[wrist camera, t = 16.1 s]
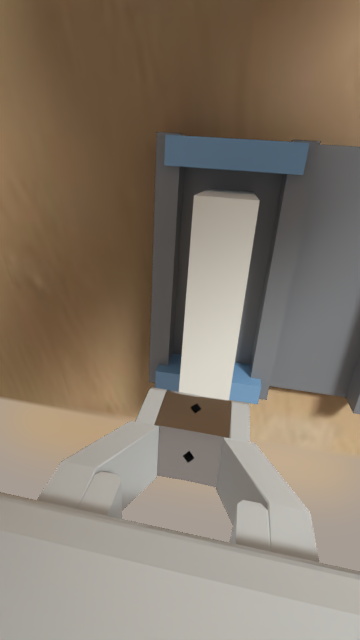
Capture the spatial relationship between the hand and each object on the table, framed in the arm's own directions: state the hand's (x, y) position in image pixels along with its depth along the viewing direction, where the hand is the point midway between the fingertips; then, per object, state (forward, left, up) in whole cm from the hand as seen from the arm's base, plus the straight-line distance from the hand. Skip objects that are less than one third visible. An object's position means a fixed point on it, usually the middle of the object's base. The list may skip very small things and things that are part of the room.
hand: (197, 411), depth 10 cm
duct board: (-6, +5, -17) cm, 19 cm away
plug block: (0, 0, -16) cm, 16 cm away
